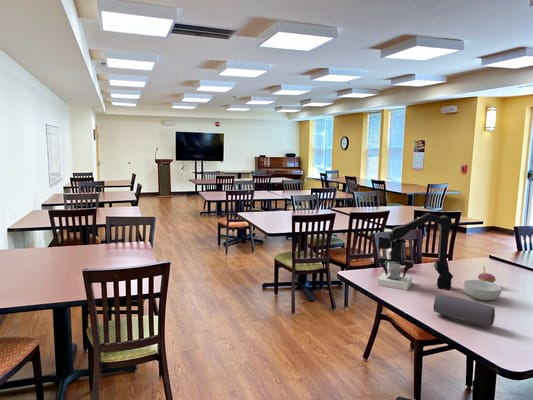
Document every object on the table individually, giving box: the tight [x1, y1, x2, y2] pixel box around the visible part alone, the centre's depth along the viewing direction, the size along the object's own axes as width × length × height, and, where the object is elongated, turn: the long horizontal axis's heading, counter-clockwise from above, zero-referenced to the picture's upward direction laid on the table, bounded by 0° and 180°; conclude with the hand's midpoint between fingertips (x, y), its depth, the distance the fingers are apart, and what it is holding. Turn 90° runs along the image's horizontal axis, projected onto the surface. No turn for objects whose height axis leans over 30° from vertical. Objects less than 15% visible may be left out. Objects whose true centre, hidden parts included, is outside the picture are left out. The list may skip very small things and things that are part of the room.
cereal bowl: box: [463, 279, 503, 302], centre depth 198 cm, size 17×17×7 cm
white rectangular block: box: [386, 248, 401, 271], centre depth 247 cm, size 7×7×13 cm
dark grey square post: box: [389, 269, 401, 281], centre depth 218 cm, size 4×4×8 cm
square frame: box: [377, 272, 413, 291], centre depth 219 cm, size 16×14×4 cm
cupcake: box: [477, 264, 496, 283], centre depth 217 cm, size 9×8×12 cm
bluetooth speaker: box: [432, 293, 496, 328], centre depth 169 cm, size 23×9×10 cm, turn 48°
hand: (395, 276), depth 218 cm, fingers open, 9 cm apart
